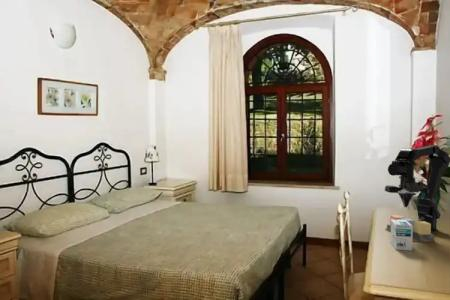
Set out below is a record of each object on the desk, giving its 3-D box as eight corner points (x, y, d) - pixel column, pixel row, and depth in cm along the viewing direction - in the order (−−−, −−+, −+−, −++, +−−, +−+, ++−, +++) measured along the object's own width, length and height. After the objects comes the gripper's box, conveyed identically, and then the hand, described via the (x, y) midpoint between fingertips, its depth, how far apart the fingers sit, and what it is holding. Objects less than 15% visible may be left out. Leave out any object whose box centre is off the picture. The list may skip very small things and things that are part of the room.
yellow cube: (424, 231, 178) (424, 221, 178) (430, 234, 173) (430, 224, 173) (414, 231, 178) (414, 221, 178) (420, 234, 173) (420, 224, 173)
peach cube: (399, 224, 191) (399, 215, 191) (404, 227, 186) (405, 217, 186) (390, 224, 190) (390, 215, 190) (395, 227, 186) (395, 217, 185)
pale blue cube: (409, 228, 184) (409, 218, 184) (414, 231, 179) (414, 220, 179) (399, 228, 184) (399, 218, 183) (404, 231, 179) (404, 220, 179)
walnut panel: (409, 229, 193) (409, 224, 193) (434, 241, 172) (434, 235, 172) (385, 229, 193) (385, 224, 193) (407, 241, 172) (407, 235, 172)
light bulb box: (412, 251, 158) (413, 225, 158) (395, 250, 160) (396, 224, 159) (406, 243, 169) (406, 219, 168) (389, 242, 170) (390, 218, 170)
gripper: (395, 176, 176) (394, 210, 177) (435, 177, 176) (434, 210, 177) (385, 173, 187) (383, 205, 188) (422, 174, 188) (421, 206, 188)
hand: (405, 207), depth 185 cm, fingers closed
